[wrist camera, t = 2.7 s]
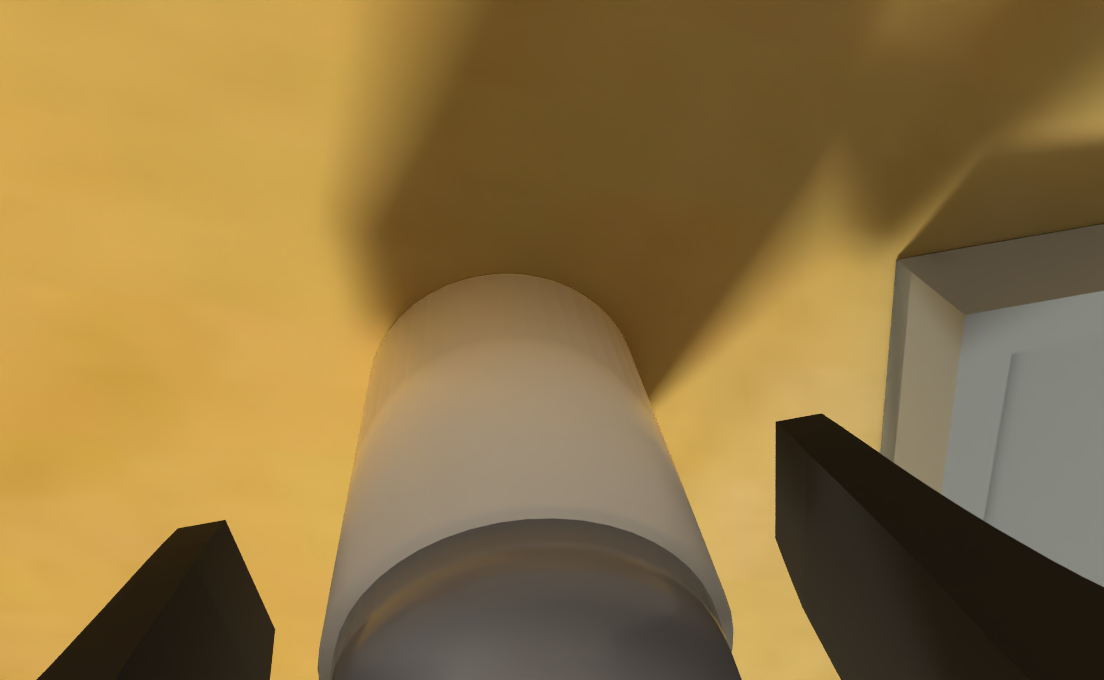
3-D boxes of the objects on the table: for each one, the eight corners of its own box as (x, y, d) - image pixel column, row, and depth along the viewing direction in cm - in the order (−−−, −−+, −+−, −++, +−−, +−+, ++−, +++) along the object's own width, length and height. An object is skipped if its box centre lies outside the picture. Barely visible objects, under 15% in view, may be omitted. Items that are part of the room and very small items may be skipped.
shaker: (644, 475, 15) (765, 838, 9) (402, 518, 14) (369, 914, 9) (621, 251, 12) (763, 542, 7) (336, 300, 12) (235, 637, 7)
